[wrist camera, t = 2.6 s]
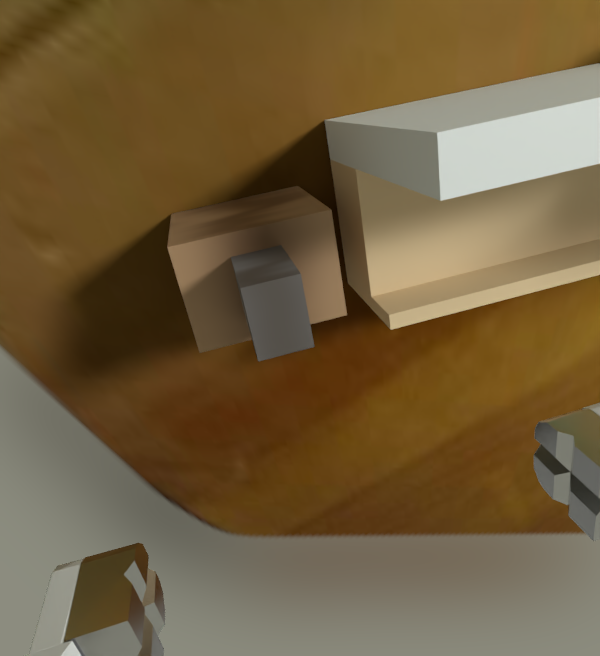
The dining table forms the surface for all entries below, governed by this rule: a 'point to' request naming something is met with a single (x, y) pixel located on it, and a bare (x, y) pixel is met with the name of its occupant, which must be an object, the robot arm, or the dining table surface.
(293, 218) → the block with grey handle
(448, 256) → the white wooden bench shape
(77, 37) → the dining table surface
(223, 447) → the dining table surface
